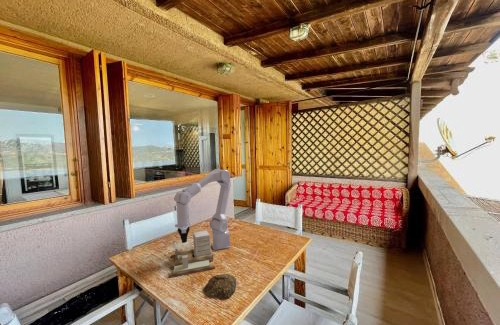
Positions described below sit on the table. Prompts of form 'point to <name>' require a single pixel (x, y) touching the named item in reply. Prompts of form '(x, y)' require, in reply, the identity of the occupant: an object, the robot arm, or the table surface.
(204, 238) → the supplement box
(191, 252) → the wooden tray
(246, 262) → the table surface
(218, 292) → the bread roll
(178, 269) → the strip
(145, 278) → the table surface
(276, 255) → the table surface
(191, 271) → the lane frame
